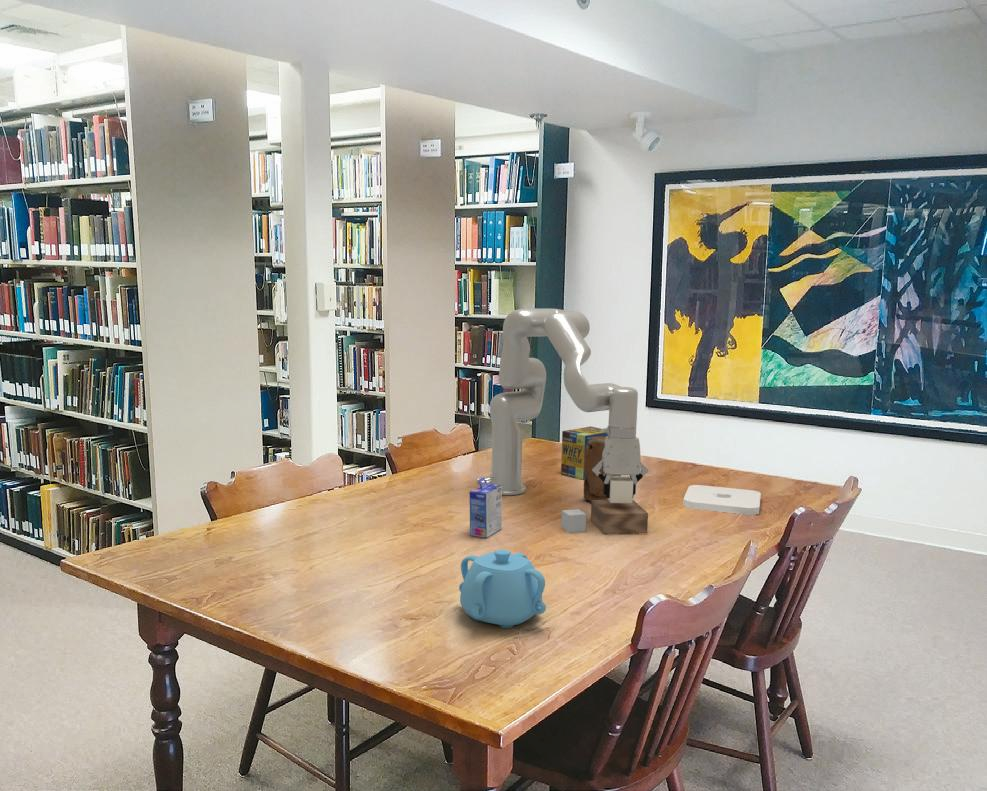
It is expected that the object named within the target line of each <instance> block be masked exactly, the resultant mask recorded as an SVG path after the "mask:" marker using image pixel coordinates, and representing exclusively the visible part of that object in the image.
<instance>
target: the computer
mask: <svg viewBox="0 0 987 791" xmlns="http://www.w3.org/2000/svg"><path fill="white" fill-rule="evenodd" d="M761 495H762V493H761V492H760V491H757V490H751V489H743V488H733V487H723V486H722V487H721V486H713V485H701V484H692V485H689V486H688V488H687V490H686V493H685V495H684V496H683V502H682V503H683V504H682V506H683V505H684V506H685V507H687V508H686V509H688V508H692V509H691V510H694V509H700V510H699V511H703V510H708V511H707V512H712V511H718V512H717V513H722V512H727V513H726V514H731V513H736V514H735V515H740V514H746V515H745V516H757V515H756V514H758V515H760V508H761ZM684 506H683V507H684ZM685 507H684V508H685Z"/></svg>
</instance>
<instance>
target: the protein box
mask: <svg viewBox="0 0 987 791" xmlns="http://www.w3.org/2000/svg"><path fill="white" fill-rule="evenodd" d="M561 436H562V437H561V459H560V461H561V463H560V464H561V466H560V467H561V468H560V475H562V474H563V475H562V476H565V477H566V476H567V477H570V476H571V477H570V478H574V477H575V478H574V479H578V478H579V479H578V480H581V479H582V481H584V480H583V479H584V478H585V474H584V458H585V450H586V446H587V444H588V442H589V441H590V440H591V439H592V438H594V437H597V436H604V437H605V436H608V434H606V433H603V428H600V427H595V426H592V425H591V426H586V427H584V426H583V427H579V428H573V429H568V430H562V435H561Z"/></svg>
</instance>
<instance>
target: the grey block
mask: <svg viewBox="0 0 987 791" xmlns="http://www.w3.org/2000/svg"><path fill="white" fill-rule="evenodd" d="M560 528H561V529H562V528H563V529H564V530H563V529H562V530H563V531H565V532H566V531H567V532H568V533H567V532H566V533H567V534H576V533H575V532H578V533H586V530H587V513H585V512H584V511H582V510H581V509H579V508H575V509H565V510H561V524H560Z"/></svg>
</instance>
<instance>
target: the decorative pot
mask: <svg viewBox="0 0 987 791" xmlns="http://www.w3.org/2000/svg"><path fill="white" fill-rule="evenodd" d="M469 561H471V565H470V567H469ZM460 572H461V575H462V576H461V577H462V580H463V581H462V582H461V583H460V584H459V589H458V590H459V592H460V596H459V602H460V605H461V607H462V609H463V610H464V612H465V613H466V614H467V616H470V617H471V619H472V620H474V621H481V622H483V623H488V624H493V625H499V627H501V628H503V629H510V628H513V627H514V626H517V625H520V624H522V623H525V622H526V621H528V620H530V619H531V618H532V617H533V616H535V615H542V614H544V613H545V612H546V609H547V606H546V604H545V602H544V601H543V593H544V591H545V589H546V588H545V587H546V579H545V576H544V574H542V572H540V571H539V570H538V569H535V567H534V565H533V563H532V561H531V560H530V559H528V556H527V555H526V554H525V553H522V552H516V553H511V551H510V550H508V549H502V548H501V549H496V550H494V551H493V552H488V553H485V554H482V555H480V556H478V555H473V554H472V555H468V556H465V557H464V558H463V559H462V560H461V563H460Z"/></svg>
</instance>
